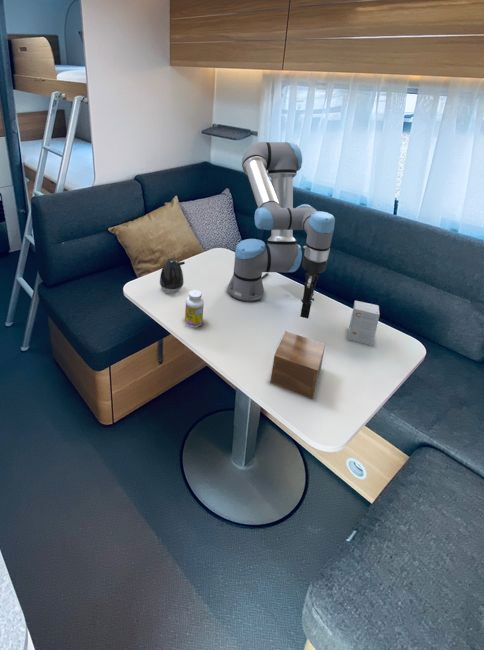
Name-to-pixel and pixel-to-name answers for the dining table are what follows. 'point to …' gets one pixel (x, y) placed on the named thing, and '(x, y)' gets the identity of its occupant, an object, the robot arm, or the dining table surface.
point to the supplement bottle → (194, 309)
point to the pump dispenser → (171, 276)
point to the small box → (363, 322)
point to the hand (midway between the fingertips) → (304, 316)
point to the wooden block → (297, 364)
